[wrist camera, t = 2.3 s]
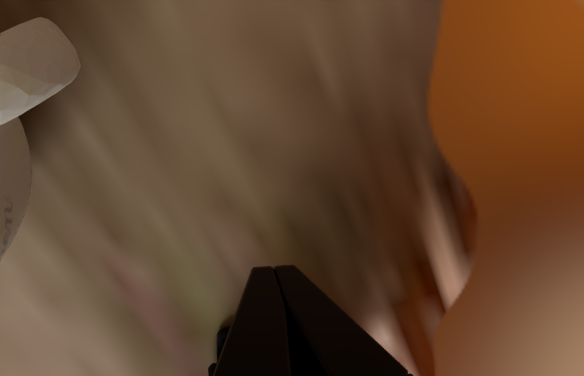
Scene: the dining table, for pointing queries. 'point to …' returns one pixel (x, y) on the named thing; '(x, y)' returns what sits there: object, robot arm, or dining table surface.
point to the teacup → (26, 106)
